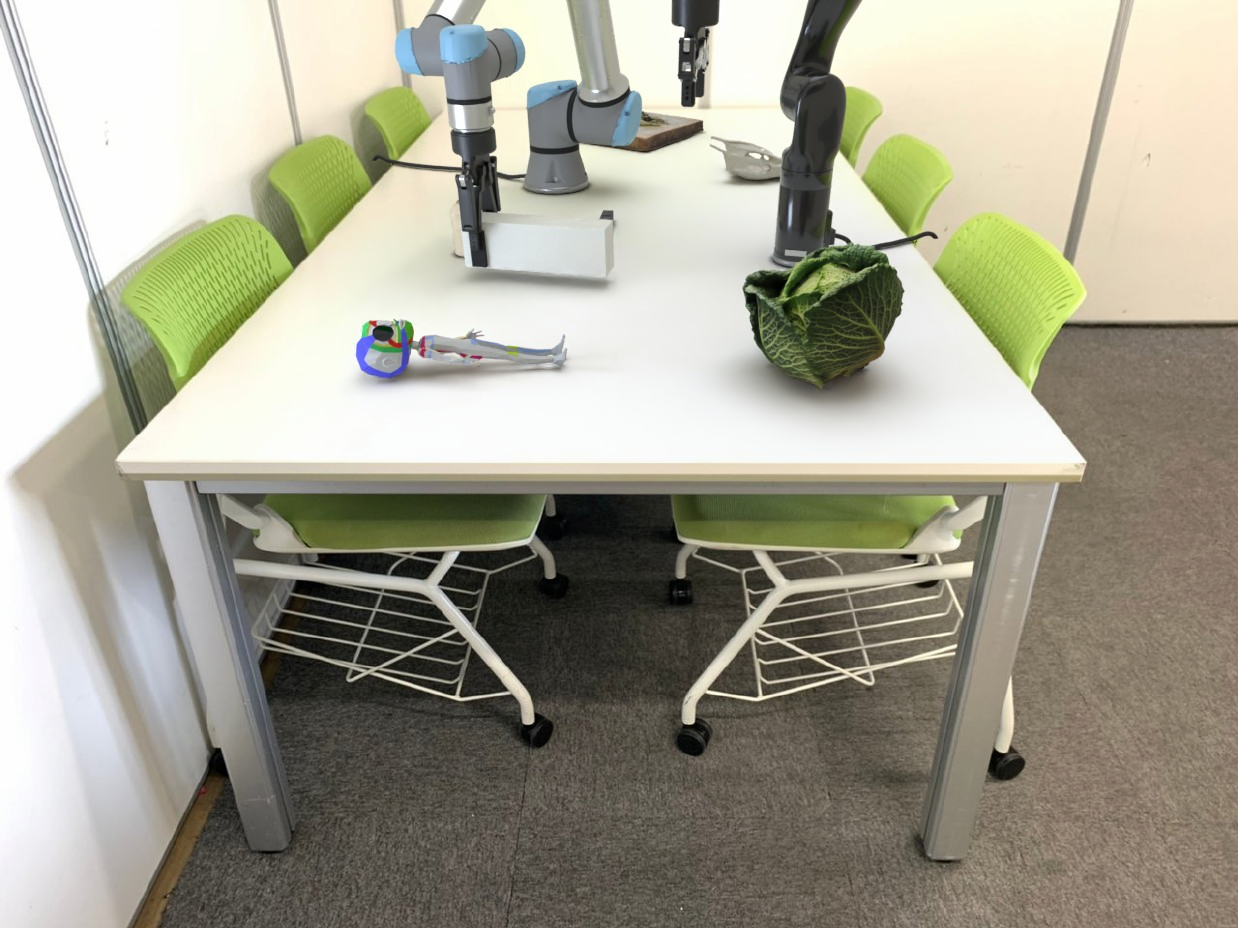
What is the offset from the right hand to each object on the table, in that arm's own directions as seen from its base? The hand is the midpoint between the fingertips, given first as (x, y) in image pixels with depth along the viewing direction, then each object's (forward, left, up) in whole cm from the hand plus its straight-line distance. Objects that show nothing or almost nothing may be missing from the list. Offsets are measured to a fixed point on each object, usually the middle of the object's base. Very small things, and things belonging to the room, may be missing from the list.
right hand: (692, 101), depth 148 cm
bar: (+27, -5, -27) cm, 38 cm away
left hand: (+35, -10, -27) cm, 46 cm away
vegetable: (-4, +44, -30) cm, 53 cm away
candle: (+37, -24, -30) cm, 53 cm away
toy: (+45, +28, -30) cm, 60 cm away
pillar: (+10, -25, -30) cm, 40 cm away
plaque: (-22, -110, -30) cm, 116 cm away
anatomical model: (-38, -57, -30) cm, 75 cm away
